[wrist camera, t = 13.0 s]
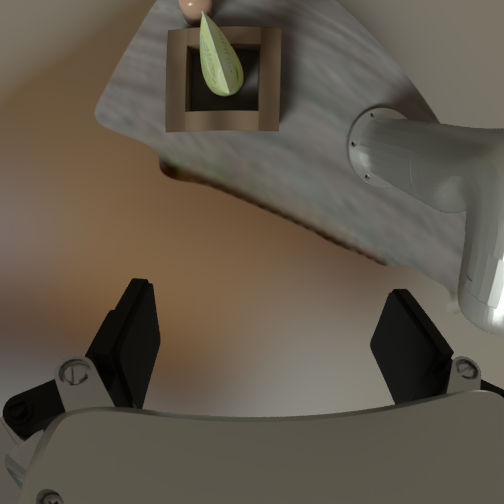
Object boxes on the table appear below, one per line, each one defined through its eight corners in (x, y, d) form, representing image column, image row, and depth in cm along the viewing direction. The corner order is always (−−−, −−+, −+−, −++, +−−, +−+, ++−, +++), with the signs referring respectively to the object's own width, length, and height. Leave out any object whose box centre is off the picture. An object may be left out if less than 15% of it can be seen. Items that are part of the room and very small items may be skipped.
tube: (254, 77, 35) (266, 41, 17) (234, 105, 36) (228, 93, 19) (219, 57, 33) (202, 9, 16) (200, 86, 35) (165, 60, 17)
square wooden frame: (276, 38, 32) (281, 28, 28) (274, 129, 38) (278, 131, 34) (176, 39, 31) (168, 30, 27) (174, 130, 38) (165, 132, 33)
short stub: (209, 0, 29) (207, -20, 23) (215, 21, 31) (214, 3, 24) (181, 8, 29) (174, -11, 23) (187, 29, 31) (181, 12, 24)
